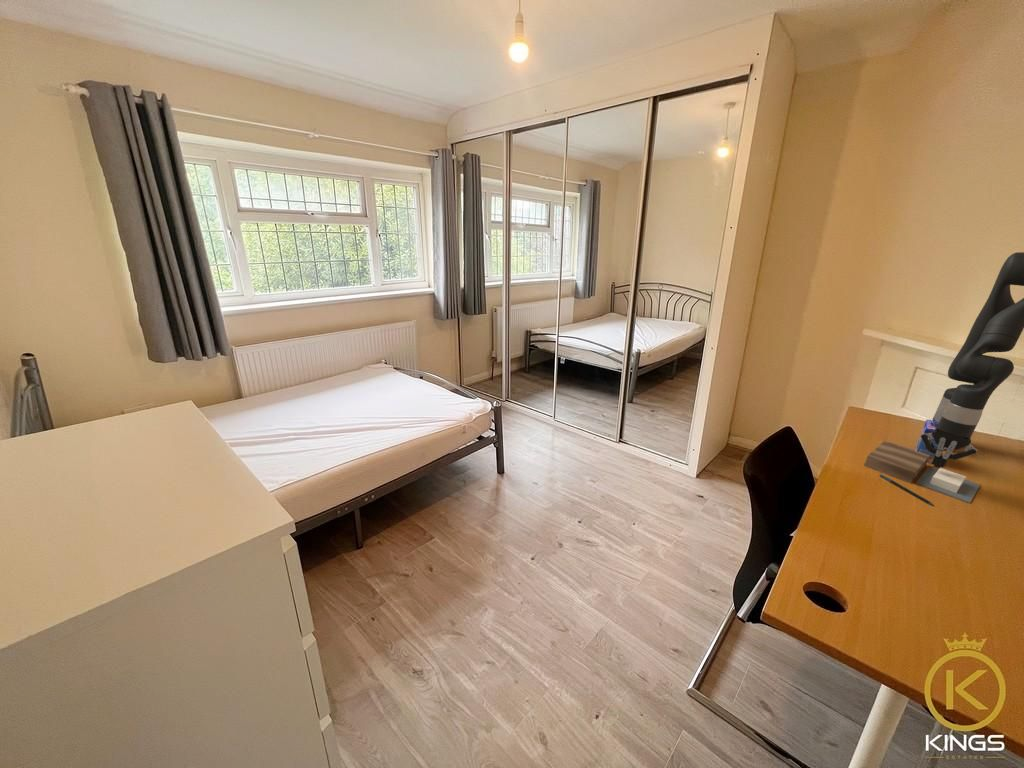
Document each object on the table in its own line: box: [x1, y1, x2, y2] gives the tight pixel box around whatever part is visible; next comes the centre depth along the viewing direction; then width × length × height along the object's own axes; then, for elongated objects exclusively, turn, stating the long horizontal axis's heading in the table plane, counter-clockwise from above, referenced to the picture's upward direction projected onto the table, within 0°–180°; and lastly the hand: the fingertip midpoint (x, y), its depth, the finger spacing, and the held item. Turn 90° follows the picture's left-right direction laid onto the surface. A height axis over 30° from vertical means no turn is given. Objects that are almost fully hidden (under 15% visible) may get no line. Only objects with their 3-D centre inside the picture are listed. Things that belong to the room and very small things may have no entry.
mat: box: [915, 466, 981, 504], centre depth 127 cm, size 16×12×1 cm
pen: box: [879, 474, 935, 507], centre depth 124 cm, size 1×16×1 cm, turn 10°
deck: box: [863, 440, 930, 483], centre depth 137 cm, size 18×12×4 cm, turn 125°
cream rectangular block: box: [930, 467, 967, 493], centre depth 127 cm, size 9×6×2 cm, turn 125°
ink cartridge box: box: [914, 416, 939, 464], centre depth 141 cm, size 10×6×14 cm, turn 136°
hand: (937, 466), depth 129 cm, fingers closed
